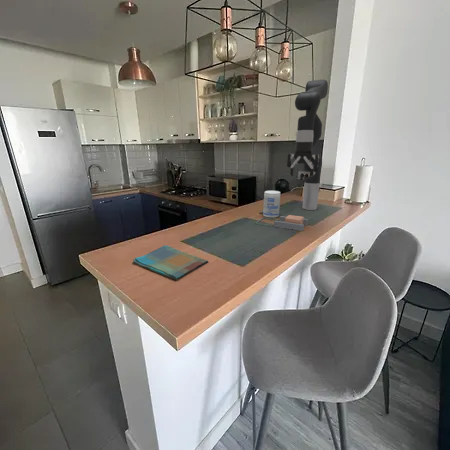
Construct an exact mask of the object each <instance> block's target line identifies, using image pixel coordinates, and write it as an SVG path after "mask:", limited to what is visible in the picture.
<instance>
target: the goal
mask: <svg viewBox="0 0 450 450" xmlns="http://www.w3.org/2000/svg"><path fill="white" fill-rule="evenodd" d="M263 220H270V221H280V219H276V218H268V217H262V218H259V220H257V221H256V222H255V225H260V226H266V227H274V224H266V223H260V222H261V221H263Z"/></svg>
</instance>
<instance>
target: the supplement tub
mask: <svg viewBox="0 0 450 450" xmlns="http://www.w3.org/2000/svg"><path fill="white" fill-rule="evenodd" d="M280 205H281V191H279V190H265V191H264V194H263V207H262V209H263V210H262V211H263V212H262V215H263V217H264V218H270V219H276V218H278V217H280Z"/></svg>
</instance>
